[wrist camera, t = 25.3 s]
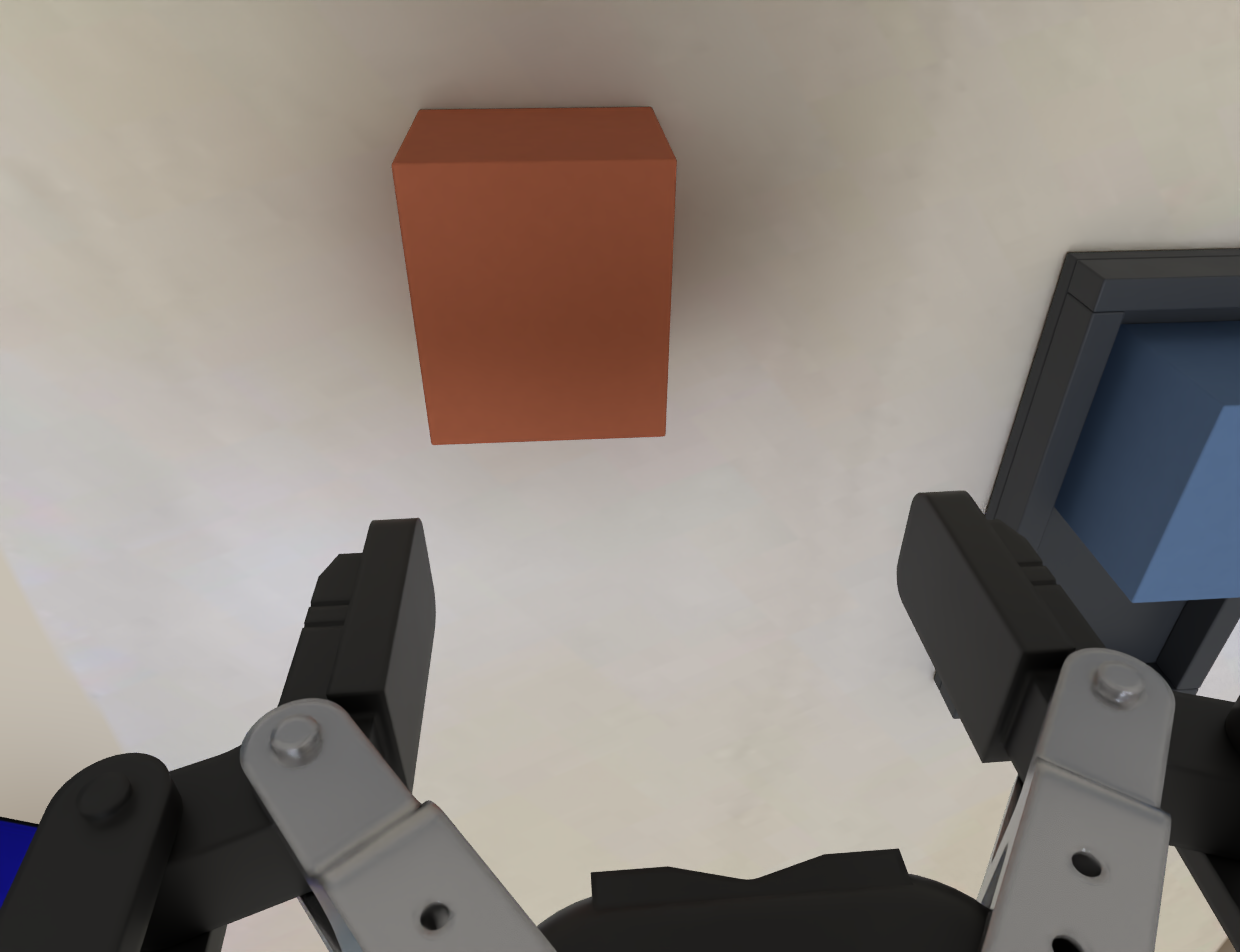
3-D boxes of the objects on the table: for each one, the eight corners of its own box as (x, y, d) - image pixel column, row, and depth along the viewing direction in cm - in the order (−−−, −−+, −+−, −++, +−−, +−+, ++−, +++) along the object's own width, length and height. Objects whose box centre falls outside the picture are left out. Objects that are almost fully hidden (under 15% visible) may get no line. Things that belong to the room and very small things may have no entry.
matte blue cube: (1118, 323, 26) (1224, 406, 22) (1303, 318, 27) (1440, 398, 23) (1052, 505, 30) (1131, 603, 26) (1213, 498, 31) (1316, 594, 27)
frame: (1066, 252, 26) (1104, 279, 24) (1382, 244, 26) (1441, 270, 25) (933, 679, 36) (952, 719, 35) (1160, 666, 37) (1190, 705, 35)
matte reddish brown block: (418, 109, 22) (390, 163, 18) (652, 106, 22) (677, 158, 18) (448, 355, 26) (431, 445, 22) (646, 349, 26) (665, 437, 22)
